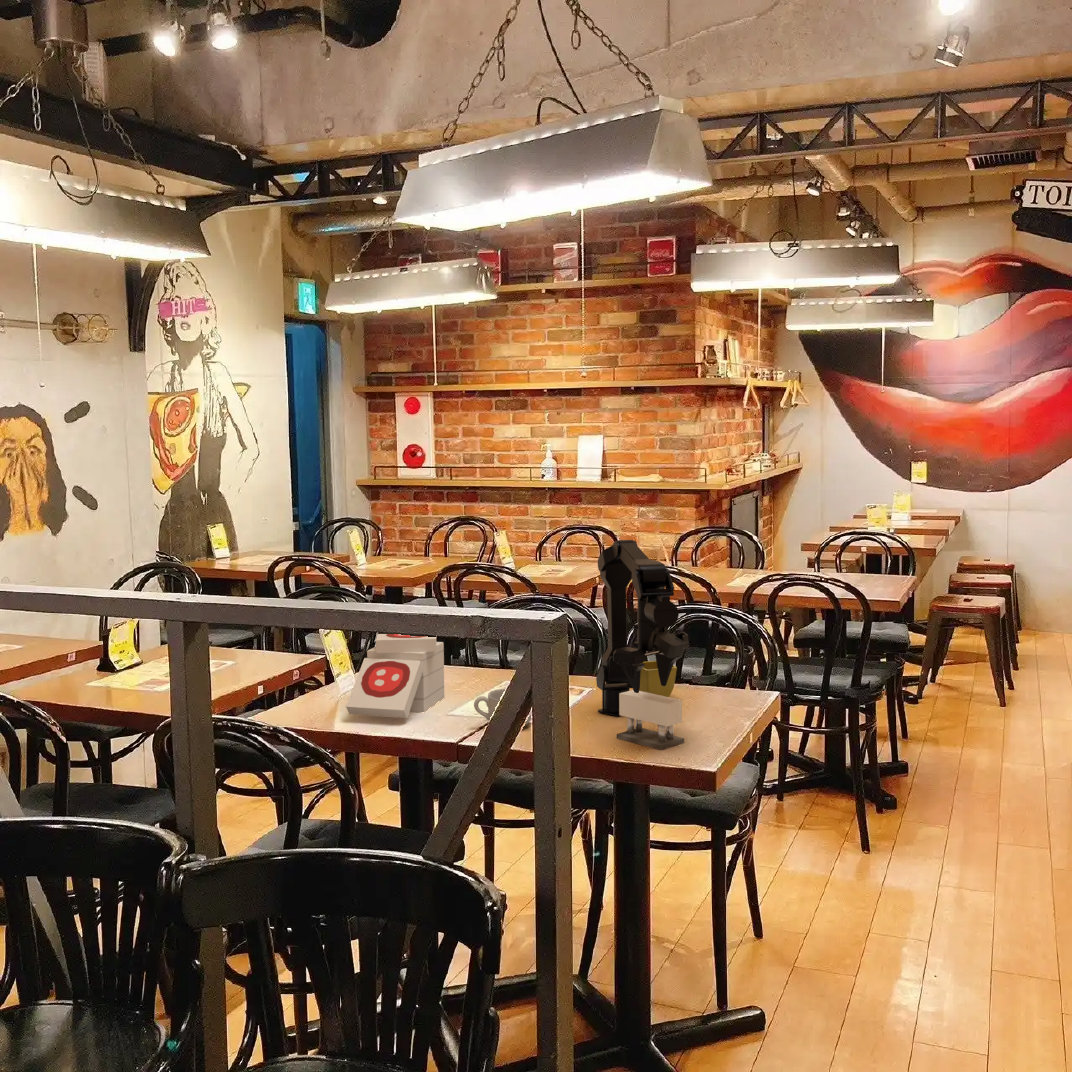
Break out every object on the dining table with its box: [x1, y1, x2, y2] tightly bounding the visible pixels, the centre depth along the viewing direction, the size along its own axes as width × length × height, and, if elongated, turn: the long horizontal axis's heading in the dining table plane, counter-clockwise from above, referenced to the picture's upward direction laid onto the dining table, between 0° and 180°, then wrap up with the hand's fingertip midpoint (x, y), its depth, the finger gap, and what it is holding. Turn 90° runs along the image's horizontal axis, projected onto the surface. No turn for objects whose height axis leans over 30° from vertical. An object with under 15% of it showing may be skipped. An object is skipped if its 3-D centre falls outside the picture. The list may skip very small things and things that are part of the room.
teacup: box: [473, 687, 532, 725], centre depth 265 cm, size 14×11×8 cm
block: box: [619, 689, 683, 727], centre depth 252 cm, size 14×5×5 cm, turn 44°
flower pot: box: [639, 660, 678, 697], centre depth 290 cm, size 9×9×9 cm
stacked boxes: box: [345, 633, 445, 719], centre depth 281 cm, size 19×30×18 cm, turn 165°
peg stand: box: [616, 717, 685, 751], centre depth 252 cm, size 13×8×5 cm, turn 44°
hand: (650, 689), depth 251 cm, fingers open, 9 cm apart
